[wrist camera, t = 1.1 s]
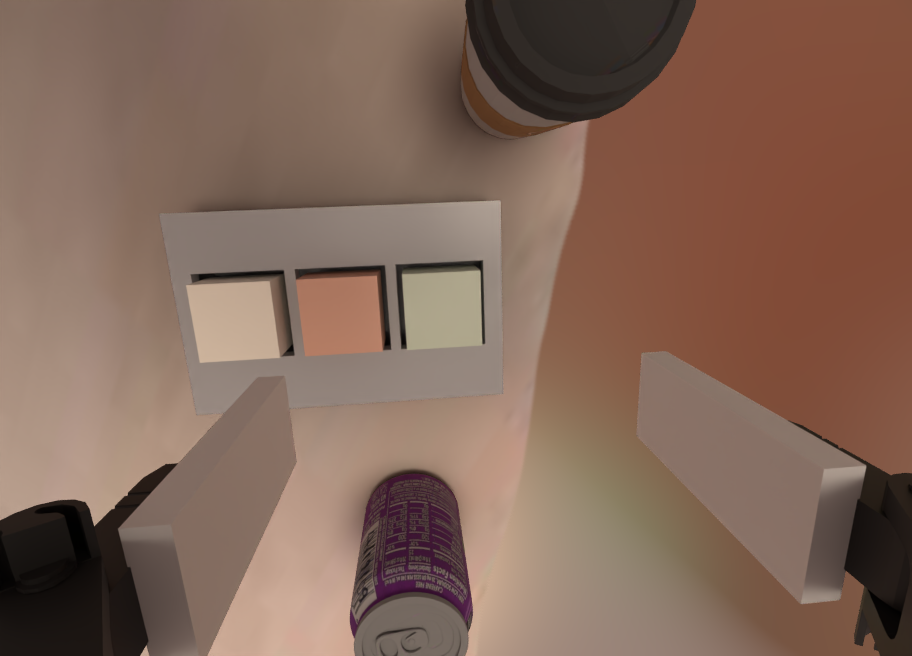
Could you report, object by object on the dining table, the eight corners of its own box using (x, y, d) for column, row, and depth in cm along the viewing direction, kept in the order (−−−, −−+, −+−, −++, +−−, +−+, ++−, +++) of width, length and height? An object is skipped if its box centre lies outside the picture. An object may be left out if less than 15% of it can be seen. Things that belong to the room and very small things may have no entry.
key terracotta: (307, 272, 29) (295, 279, 26) (380, 269, 29) (376, 275, 26) (315, 342, 30) (305, 356, 27) (385, 337, 30) (382, 351, 27)
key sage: (403, 268, 29) (401, 274, 26) (473, 264, 30) (480, 270, 27) (407, 336, 30) (407, 350, 28) (475, 332, 31) (482, 345, 28)
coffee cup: (487, 181, 32) (550, 158, 17) (418, 62, 30) (423, -78, 15) (595, 110, 31) (753, 25, 17) (532, -15, 29) (651, -238, 15)
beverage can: (379, 556, 38) (364, 709, 26) (356, 480, 36) (328, 608, 25) (465, 536, 38) (488, 678, 27) (447, 458, 36) (462, 575, 25)
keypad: (195, 212, 31) (158, 213, 26) (488, 201, 32) (500, 200, 28) (225, 388, 34) (196, 415, 29) (492, 370, 35) (503, 393, 30)
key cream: (209, 277, 29) (185, 285, 26) (284, 273, 29) (269, 281, 26) (220, 347, 30) (199, 362, 27) (292, 343, 30) (279, 358, 27)
